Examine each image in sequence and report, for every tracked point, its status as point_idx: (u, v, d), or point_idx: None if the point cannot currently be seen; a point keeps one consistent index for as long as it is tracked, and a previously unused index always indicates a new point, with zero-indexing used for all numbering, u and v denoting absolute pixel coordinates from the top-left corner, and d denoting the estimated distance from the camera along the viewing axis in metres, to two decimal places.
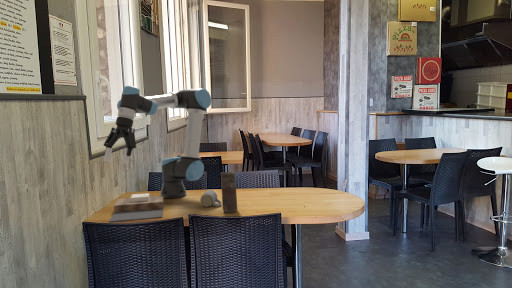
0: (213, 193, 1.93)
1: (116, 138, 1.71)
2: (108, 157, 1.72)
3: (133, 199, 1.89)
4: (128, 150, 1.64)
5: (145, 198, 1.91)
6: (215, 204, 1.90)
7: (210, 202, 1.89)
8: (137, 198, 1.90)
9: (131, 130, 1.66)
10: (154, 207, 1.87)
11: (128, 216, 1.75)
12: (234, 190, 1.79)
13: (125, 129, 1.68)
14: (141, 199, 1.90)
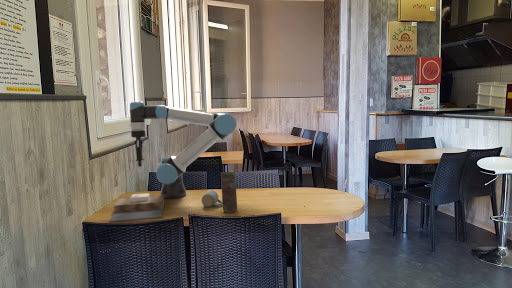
0: (214, 193, 1.93)
1: None
2: None
3: (133, 199, 1.89)
4: None
5: (145, 198, 1.91)
6: (216, 204, 1.90)
7: (211, 202, 1.89)
8: (137, 198, 1.90)
9: (136, 146, 1.95)
10: (154, 207, 1.87)
11: (128, 216, 1.75)
12: (234, 190, 1.79)
13: (136, 141, 1.98)
14: (141, 199, 1.90)
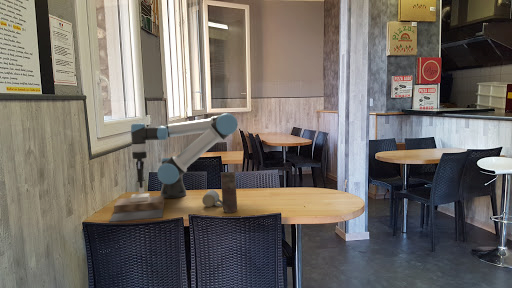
0: (215, 193, 1.93)
1: None
2: None
3: (133, 199, 1.89)
4: None
5: (145, 198, 1.91)
6: (217, 204, 1.90)
7: (212, 202, 1.89)
8: (137, 198, 1.90)
9: (137, 168, 1.96)
10: (154, 207, 1.87)
11: (128, 216, 1.75)
12: (234, 190, 1.79)
13: (137, 162, 1.98)
14: (141, 199, 1.90)
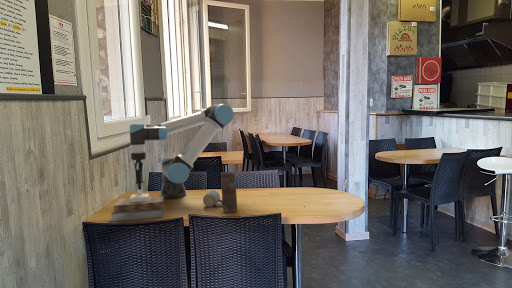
0: (216, 193, 1.93)
1: None
2: None
3: (133, 199, 1.89)
4: (138, 185, 1.96)
5: (145, 198, 1.90)
6: (218, 204, 1.90)
7: (213, 202, 1.89)
8: (137, 198, 1.89)
9: (136, 169, 1.91)
10: (154, 207, 1.87)
11: (128, 216, 1.75)
12: (234, 190, 1.79)
13: (135, 163, 1.93)
14: (141, 199, 1.90)
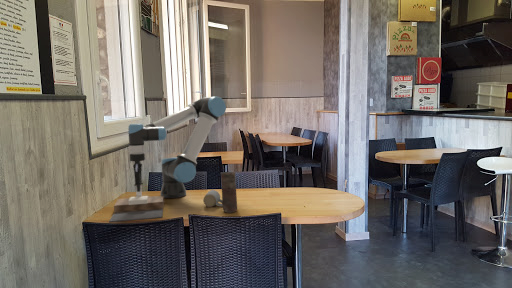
0: (216, 193, 1.93)
1: None
2: None
3: (131, 202, 1.84)
4: (137, 187, 1.91)
5: (144, 201, 1.85)
6: (218, 204, 1.90)
7: (213, 202, 1.89)
8: (135, 201, 1.84)
9: (135, 170, 1.85)
10: (154, 207, 1.87)
11: (128, 216, 1.75)
12: (234, 190, 1.79)
13: (134, 165, 1.88)
14: (139, 202, 1.84)
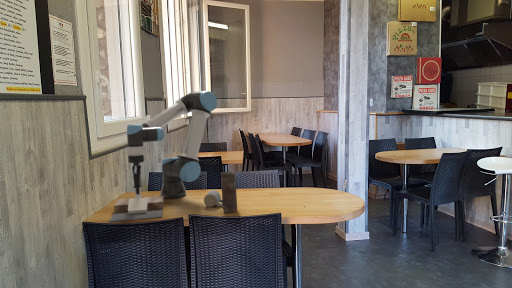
0: (216, 193, 1.93)
1: None
2: None
3: (131, 212, 1.79)
4: (136, 189, 1.85)
5: (143, 211, 1.80)
6: (219, 204, 1.90)
7: (214, 202, 1.89)
8: (135, 211, 1.79)
9: (134, 172, 1.80)
10: (154, 207, 1.87)
11: (128, 216, 1.75)
12: (234, 190, 1.79)
13: (133, 166, 1.82)
14: (139, 211, 1.80)
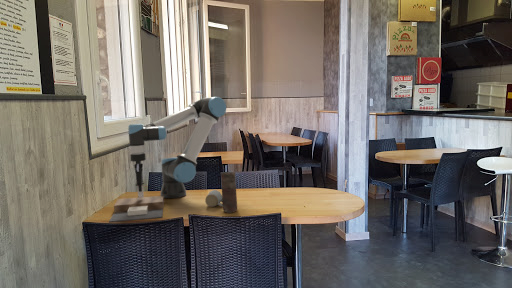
0: (218, 193, 1.93)
1: None
2: None
3: (130, 212, 1.77)
4: (138, 187, 1.91)
5: (143, 211, 1.78)
6: (220, 204, 1.89)
7: (215, 202, 1.89)
8: (135, 211, 1.77)
9: (136, 171, 1.86)
10: (154, 207, 1.87)
11: (128, 216, 1.75)
12: (234, 190, 1.79)
13: (135, 165, 1.88)
14: (139, 212, 1.78)
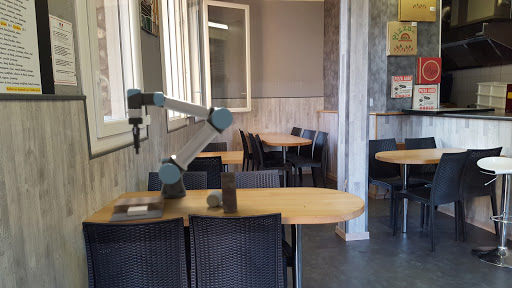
0: (219, 193, 1.93)
1: None
2: None
3: (130, 212, 1.77)
4: (135, 149, 1.99)
5: (143, 211, 1.78)
6: (221, 204, 1.89)
7: (216, 202, 1.88)
8: (135, 211, 1.77)
9: (133, 133, 1.93)
10: (154, 207, 1.87)
11: (128, 216, 1.75)
12: (234, 190, 1.79)
13: (133, 128, 1.96)
14: (139, 212, 1.78)
